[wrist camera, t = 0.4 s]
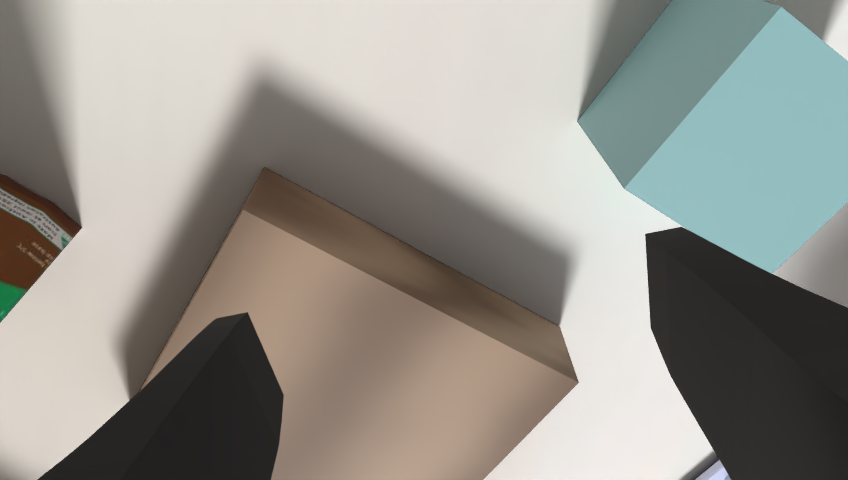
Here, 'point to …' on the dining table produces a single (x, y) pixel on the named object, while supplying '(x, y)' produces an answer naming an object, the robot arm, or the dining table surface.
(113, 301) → the dining table surface
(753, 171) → the teal cube
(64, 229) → the food container
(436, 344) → the walnut base
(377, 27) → the dining table surface
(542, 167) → the dining table surface
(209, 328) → the robot arm
